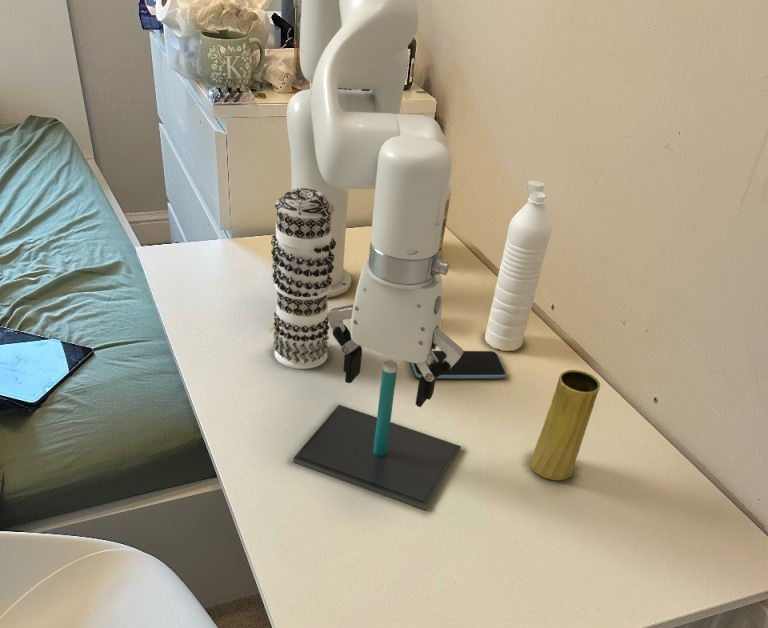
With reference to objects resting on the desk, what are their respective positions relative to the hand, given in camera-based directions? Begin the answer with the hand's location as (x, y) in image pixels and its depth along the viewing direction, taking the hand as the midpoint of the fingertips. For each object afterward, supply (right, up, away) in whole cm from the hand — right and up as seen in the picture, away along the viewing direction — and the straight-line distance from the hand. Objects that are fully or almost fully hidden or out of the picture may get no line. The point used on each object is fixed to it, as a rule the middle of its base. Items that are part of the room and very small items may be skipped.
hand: (387, 389), depth 93 cm
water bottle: (+20, +14, +34) cm, 42 cm away
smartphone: (+11, +8, +26) cm, 29 cm away
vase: (+23, -9, +10) cm, 27 cm away
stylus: (-1, -7, +7) cm, 10 cm away
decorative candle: (-14, +9, +24) cm, 29 cm away
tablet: (-1, -8, +8) cm, 11 cm away
